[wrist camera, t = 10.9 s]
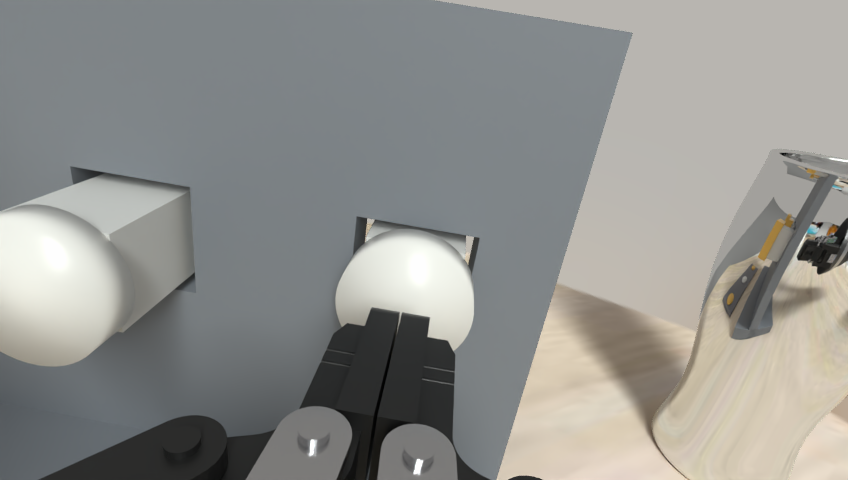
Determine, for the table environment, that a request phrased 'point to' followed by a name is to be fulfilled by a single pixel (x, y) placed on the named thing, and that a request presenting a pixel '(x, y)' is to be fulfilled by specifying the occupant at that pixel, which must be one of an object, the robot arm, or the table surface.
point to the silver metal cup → (767, 329)
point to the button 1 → (410, 279)
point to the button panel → (296, 191)
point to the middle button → (89, 264)
